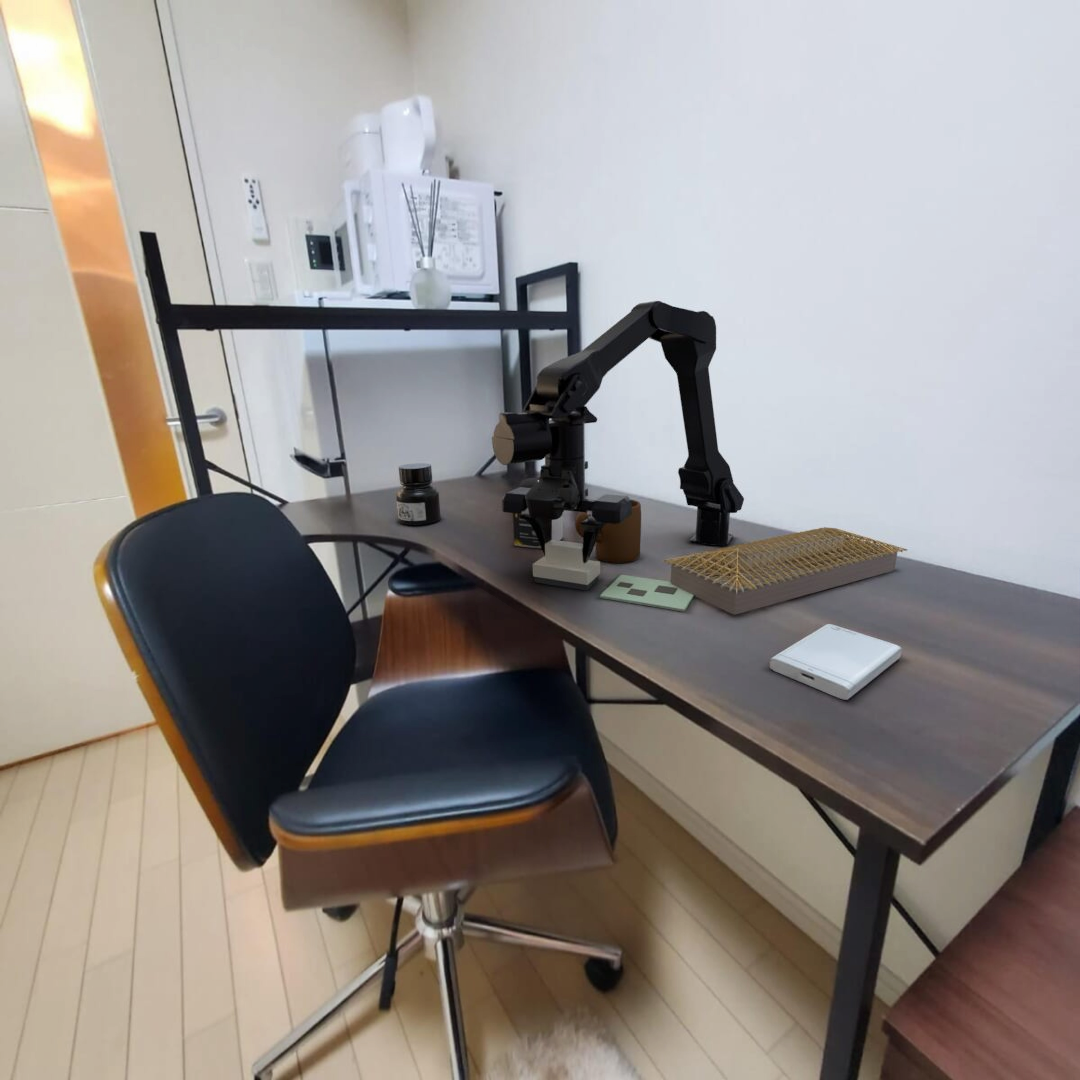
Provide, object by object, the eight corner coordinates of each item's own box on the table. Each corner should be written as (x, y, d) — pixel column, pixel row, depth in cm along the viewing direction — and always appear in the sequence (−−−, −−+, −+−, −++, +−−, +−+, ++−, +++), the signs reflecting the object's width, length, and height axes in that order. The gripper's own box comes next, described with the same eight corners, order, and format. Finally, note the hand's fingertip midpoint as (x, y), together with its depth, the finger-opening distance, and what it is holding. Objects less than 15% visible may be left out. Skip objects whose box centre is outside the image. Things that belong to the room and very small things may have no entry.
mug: (588, 572, 91) (587, 515, 88) (564, 558, 98) (564, 505, 95) (649, 559, 96) (650, 504, 93) (623, 547, 103) (624, 496, 100)
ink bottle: (389, 522, 124) (383, 467, 120) (422, 513, 130) (417, 461, 127) (417, 529, 118) (412, 471, 114) (450, 519, 124) (446, 464, 121)
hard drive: (827, 622, 68) (770, 655, 61) (902, 646, 62) (849, 686, 55) (825, 634, 69) (769, 669, 61) (900, 660, 63) (847, 702, 55)
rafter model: (821, 546, 100) (825, 512, 98) (903, 571, 88) (910, 532, 86) (661, 582, 85) (663, 543, 83) (734, 618, 73) (738, 573, 71)
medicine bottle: (513, 546, 105) (510, 482, 102) (528, 535, 111) (526, 474, 108) (549, 549, 103) (548, 484, 99) (563, 538, 109) (562, 476, 105)
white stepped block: (547, 572, 92) (546, 536, 90) (600, 580, 88) (600, 542, 86) (533, 582, 88) (531, 545, 86) (587, 591, 84) (587, 552, 82)
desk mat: (621, 576, 89) (621, 573, 89) (699, 588, 84) (699, 585, 83) (599, 597, 81) (599, 594, 81) (684, 612, 76) (684, 608, 76)
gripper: (479, 462, 79) (485, 568, 84) (605, 470, 71) (605, 587, 76) (518, 450, 89) (522, 546, 93) (634, 456, 81) (632, 561, 85)
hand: (566, 559), depth 87 cm, fingers closed on white stepped block, 6 cm apart
